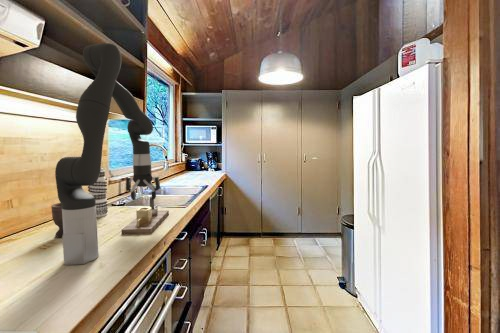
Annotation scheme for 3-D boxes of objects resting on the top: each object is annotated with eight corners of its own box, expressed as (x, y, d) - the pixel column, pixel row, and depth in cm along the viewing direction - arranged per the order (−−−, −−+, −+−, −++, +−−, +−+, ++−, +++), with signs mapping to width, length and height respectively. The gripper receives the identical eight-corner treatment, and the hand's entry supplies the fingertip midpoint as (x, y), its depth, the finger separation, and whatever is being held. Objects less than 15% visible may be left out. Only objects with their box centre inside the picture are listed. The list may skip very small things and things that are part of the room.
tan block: (140, 220, 126) (140, 207, 125) (152, 219, 126) (151, 207, 126) (131, 227, 115) (131, 213, 114) (144, 227, 115) (143, 213, 114)
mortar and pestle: (90, 231, 116) (87, 185, 115) (79, 238, 108) (76, 188, 106) (61, 232, 115) (58, 186, 114) (48, 239, 107) (45, 189, 105)
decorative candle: (92, 213, 147) (89, 167, 145) (110, 212, 150) (108, 167, 148) (86, 217, 139) (83, 169, 137) (106, 216, 141) (103, 168, 139)
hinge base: (151, 233, 113) (150, 207, 112) (121, 234, 112) (120, 208, 111) (168, 214, 145) (168, 193, 144) (145, 214, 144) (145, 194, 143)
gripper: (122, 165, 117) (124, 202, 118) (156, 164, 118) (157, 201, 119) (128, 163, 124) (130, 198, 126) (160, 163, 125) (161, 197, 127)
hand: (143, 199), depth 123 cm, fingers open, 8 cm apart
